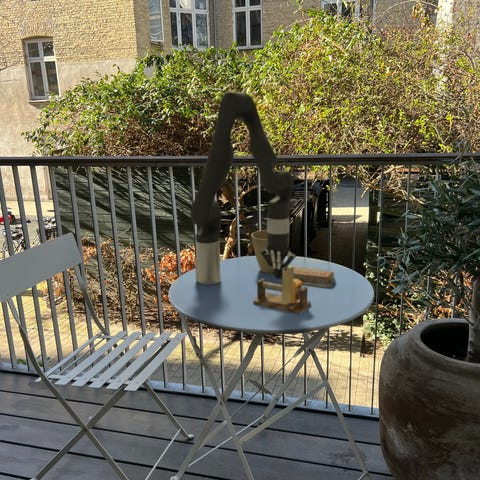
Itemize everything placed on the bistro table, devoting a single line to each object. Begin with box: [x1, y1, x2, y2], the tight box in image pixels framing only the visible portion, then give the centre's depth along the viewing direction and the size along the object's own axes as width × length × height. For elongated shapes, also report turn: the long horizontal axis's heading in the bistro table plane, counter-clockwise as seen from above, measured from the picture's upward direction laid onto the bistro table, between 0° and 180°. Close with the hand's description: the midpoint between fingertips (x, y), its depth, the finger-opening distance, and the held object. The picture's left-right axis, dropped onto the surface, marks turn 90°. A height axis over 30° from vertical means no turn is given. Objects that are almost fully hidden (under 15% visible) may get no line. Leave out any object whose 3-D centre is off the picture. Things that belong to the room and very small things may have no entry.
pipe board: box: [253, 277, 312, 315], centre depth 159 cm, size 18×9×8 cm, turn 58°
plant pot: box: [251, 229, 274, 274], centre depth 193 cm, size 15×15×16 cm
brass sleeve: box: [281, 265, 299, 303], centre depth 156 cm, size 4×6×11 cm, turn 148°
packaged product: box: [293, 266, 336, 289], centre depth 181 cm, size 18×5×10 cm
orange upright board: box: [291, 281, 303, 303], centre depth 156 cm, size 1×6×6 cm, turn 148°
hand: (278, 278), depth 158 cm, fingers closed
